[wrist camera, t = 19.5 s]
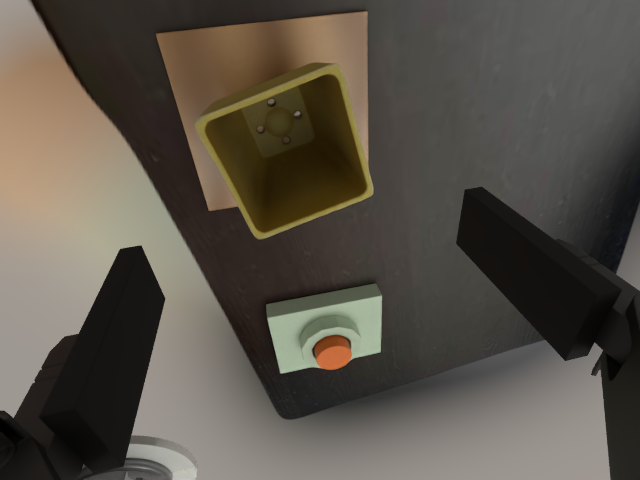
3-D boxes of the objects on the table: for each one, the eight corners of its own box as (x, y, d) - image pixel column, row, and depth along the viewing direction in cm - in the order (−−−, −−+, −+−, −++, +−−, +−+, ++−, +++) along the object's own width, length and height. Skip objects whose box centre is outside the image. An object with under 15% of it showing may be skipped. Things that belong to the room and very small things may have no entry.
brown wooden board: (209, 208, 32) (208, 211, 32) (156, 33, 24) (155, 33, 24) (367, 183, 34) (368, 185, 34) (365, 10, 26) (367, 10, 26)
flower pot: (344, 151, 31) (376, 196, 24) (252, 187, 31) (256, 243, 24) (312, 44, 26) (340, 60, 19) (203, 88, 26) (189, 120, 19)
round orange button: (315, 360, 42) (318, 373, 40) (312, 337, 39) (315, 350, 38) (348, 353, 42) (352, 365, 41) (347, 330, 40) (351, 342, 38)
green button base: (278, 359, 46) (281, 386, 42) (265, 304, 40) (268, 330, 37) (375, 339, 47) (385, 364, 44) (376, 282, 41) (387, 306, 38)
